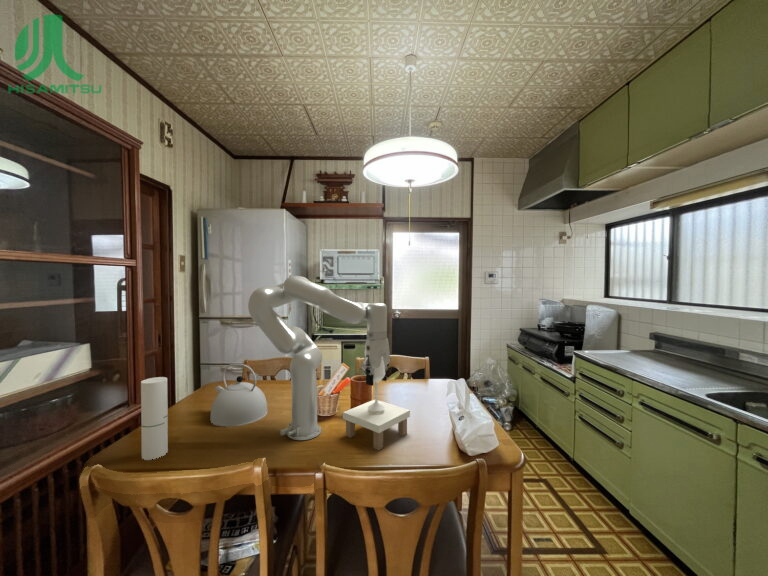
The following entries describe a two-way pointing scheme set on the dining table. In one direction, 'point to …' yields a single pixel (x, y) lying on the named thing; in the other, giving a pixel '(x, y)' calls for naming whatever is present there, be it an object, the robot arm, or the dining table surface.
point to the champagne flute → (377, 377)
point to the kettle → (238, 403)
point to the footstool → (376, 420)
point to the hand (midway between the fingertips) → (376, 382)
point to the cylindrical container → (154, 417)
